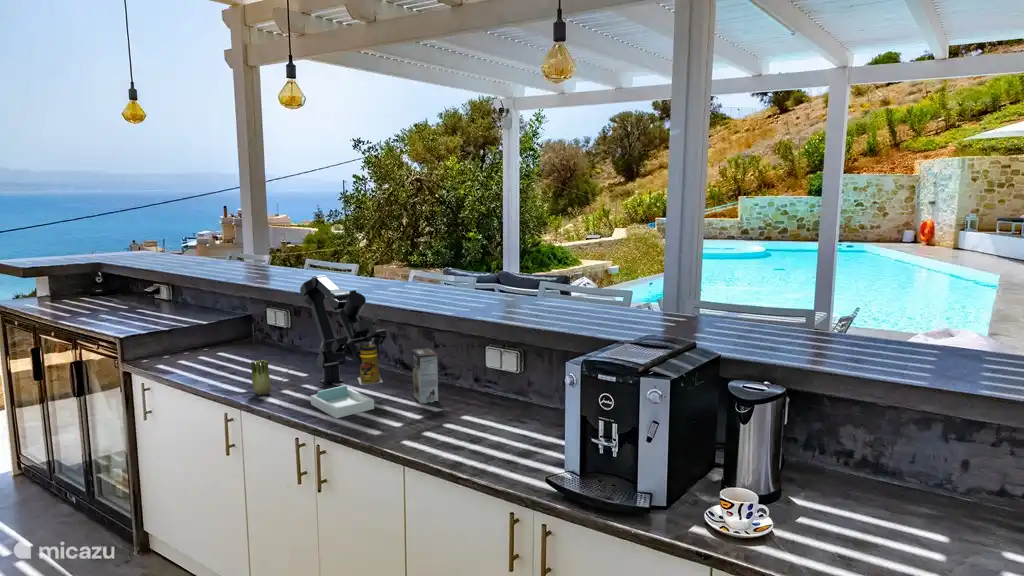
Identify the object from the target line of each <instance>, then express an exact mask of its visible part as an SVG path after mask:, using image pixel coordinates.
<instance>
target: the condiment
mask: <svg viewBox="0 0 1024 576" xmlns="http://www.w3.org/2000/svg"><path fill="white" fill-rule="evenodd" d="M359 350H360V351H359V352H360V353H359V356H360V358H361V360H362V365H360V364H359V372H360V373H359V374H360V375H359V377H357V380H358V383H359V385H360V386H362V385H363V386H364V385H366V386H367V385H374V384H380V383H384V382H383V380H382V377H381V375H380V364H379V362H380V360H379V361H378V353H377V347H376V345H372V344H370V343H368V344H363V345H361V346H360V347H359Z"/></svg>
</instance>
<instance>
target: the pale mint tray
mask: <svg viewBox="0 0 1024 576" xmlns="http://www.w3.org/2000/svg"><path fill="white" fill-rule="evenodd" d="M347 393H348V397H343V398H339V399H335V400H331V401H324V400H322V399H320V398H318V395H317V393H316V394H311V395H310V404H311V406H313V407H315V408H317V409H318V410H320V411H322V412H324V413H326V415H329V416H331V417H333V418H335V419H339V418H343V417H346V416H347V417H348V416H350V415H355V414H359V413H363V412H367V411H371V410H374V409H375V400H374V398H372V397H370V396H367V395H365V394H363V393H360V392H358V391H357V390H354V389H352V388H351V387H348V386H347Z"/></svg>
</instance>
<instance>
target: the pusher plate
mask: <svg viewBox="0 0 1024 576" xmlns="http://www.w3.org/2000/svg"><path fill="white" fill-rule="evenodd" d="M347 387H348V385H347V384H346V385H345V384H344V385H341V386H337V387H336V386H335V387H332V388H331V387H330V388H327V389H323V390H318V391H317V393H316V394H317V395H318V398H320V399H322V400H324V401H331V400H335V399H339V398H343V397H348V393H347Z"/></svg>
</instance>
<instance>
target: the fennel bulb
mask: <svg viewBox="0 0 1024 576" xmlns="http://www.w3.org/2000/svg"><path fill="white" fill-rule="evenodd" d="M250 365H251V367H250V368H251V384H252V387H253V391H254V393H255V394H256V395H257V396H265V395H268V394H270V393H271V391H272V381H271V377H270V373H269V361H268V360H264V359H261V360H256V361H255V360H253V361H250Z"/></svg>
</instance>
